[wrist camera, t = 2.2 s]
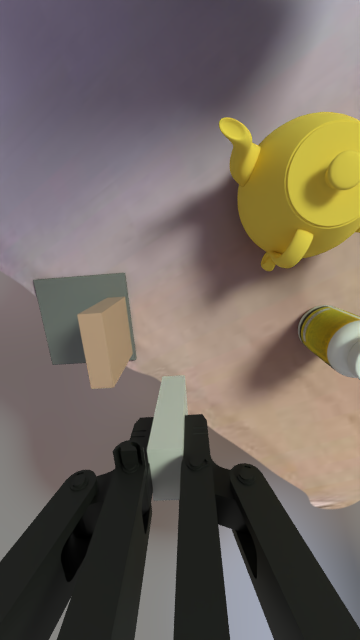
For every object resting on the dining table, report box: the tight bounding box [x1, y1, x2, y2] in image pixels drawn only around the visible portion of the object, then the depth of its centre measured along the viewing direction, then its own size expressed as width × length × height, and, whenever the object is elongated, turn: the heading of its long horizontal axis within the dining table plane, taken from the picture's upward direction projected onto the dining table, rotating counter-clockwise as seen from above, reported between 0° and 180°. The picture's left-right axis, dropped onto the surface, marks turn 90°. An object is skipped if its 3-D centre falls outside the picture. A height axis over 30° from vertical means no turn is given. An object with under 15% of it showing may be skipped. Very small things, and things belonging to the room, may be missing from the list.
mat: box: [33, 273, 136, 365], centre depth 34 cm, size 12×12×1 cm
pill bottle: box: [298, 305, 360, 380], centre depth 28 cm, size 6×6×11 cm
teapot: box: [219, 112, 360, 271], centre depth 24 cm, size 20×15×12 cm
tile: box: [77, 297, 133, 389], centre depth 29 cm, size 8×3×9 cm, turn 4°
